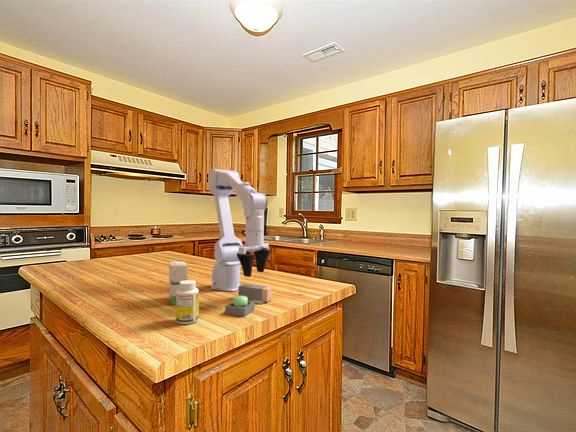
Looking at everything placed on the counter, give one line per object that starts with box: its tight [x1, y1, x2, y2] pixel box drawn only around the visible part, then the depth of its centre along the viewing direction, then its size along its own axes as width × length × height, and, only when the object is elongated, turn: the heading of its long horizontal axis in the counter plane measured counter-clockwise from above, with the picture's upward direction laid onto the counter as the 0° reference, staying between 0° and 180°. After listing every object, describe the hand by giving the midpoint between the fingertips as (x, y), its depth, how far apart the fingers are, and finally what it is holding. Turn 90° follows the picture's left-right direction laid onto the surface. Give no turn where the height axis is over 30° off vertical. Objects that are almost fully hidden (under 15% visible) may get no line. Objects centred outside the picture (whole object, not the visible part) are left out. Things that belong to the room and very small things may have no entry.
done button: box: [232, 295, 248, 308], centre depth 87 cm, size 4×4×3 cm
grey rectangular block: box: [237, 283, 273, 303], centre depth 99 cm, size 10×4×4 cm, turn 69°
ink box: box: [168, 261, 189, 306], centre depth 96 cm, size 9×5×12 cm, turn 26°
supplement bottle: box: [175, 279, 200, 325], centre depth 79 cm, size 6×6×10 cm
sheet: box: [248, 299, 266, 305], centre depth 99 cm, size 9×7×1 cm
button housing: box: [224, 301, 256, 318], centre depth 87 cm, size 6×6×2 cm
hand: (254, 274), depth 97 cm, fingers open, 7 cm apart
